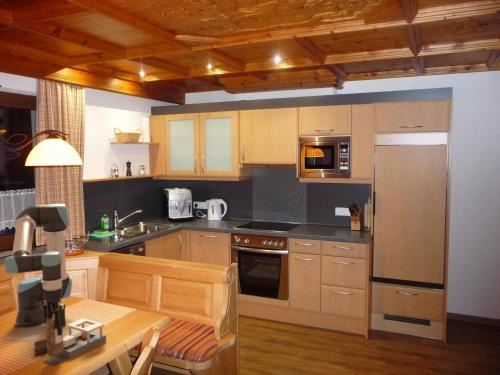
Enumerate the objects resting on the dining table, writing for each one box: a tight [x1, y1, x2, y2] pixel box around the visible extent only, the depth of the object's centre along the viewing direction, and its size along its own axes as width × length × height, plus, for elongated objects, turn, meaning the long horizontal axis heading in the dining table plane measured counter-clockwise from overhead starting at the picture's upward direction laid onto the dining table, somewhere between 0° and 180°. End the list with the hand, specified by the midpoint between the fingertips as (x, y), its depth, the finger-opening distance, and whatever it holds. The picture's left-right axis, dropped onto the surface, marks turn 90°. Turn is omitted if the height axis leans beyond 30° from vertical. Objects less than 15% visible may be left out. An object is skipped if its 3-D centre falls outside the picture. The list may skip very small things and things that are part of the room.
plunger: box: [80, 331, 90, 341], centre depth 198 cm, size 4×4×4 cm
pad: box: [43, 355, 69, 367], centre depth 181 cm, size 7×7×1 cm
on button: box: [63, 334, 75, 348], centre depth 189 cm, size 4×5×3 cm
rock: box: [33, 338, 47, 356], centre depth 192 cm, size 11×10×4 cm
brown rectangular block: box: [45, 315, 64, 357], centre depth 180 cm, size 4×4×16 cm
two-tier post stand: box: [60, 318, 107, 359], centre depth 194 cm, size 15×20×9 cm
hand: (54, 340), depth 180 cm, fingers closed on brown rectangular block, 4 cm apart
